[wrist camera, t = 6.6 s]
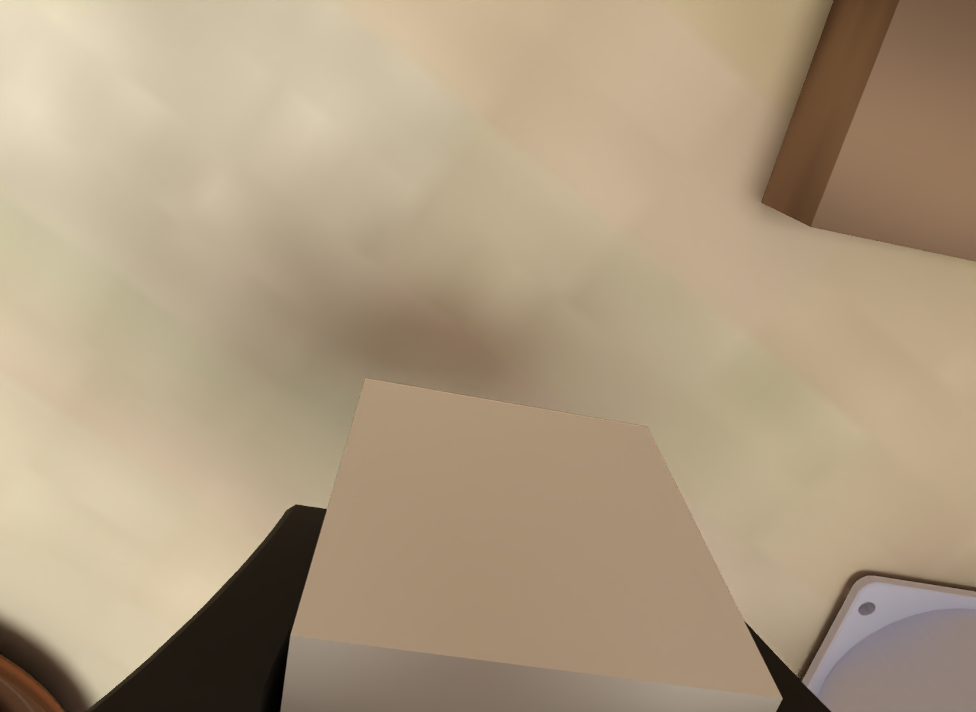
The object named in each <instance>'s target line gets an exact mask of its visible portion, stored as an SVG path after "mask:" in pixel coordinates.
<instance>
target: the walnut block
mask: <svg viewBox="0 0 976 712" xmlns="http://www.w3.org/2000/svg"><path fill="white" fill-rule="evenodd" d="M762 203H764V204H766V205H768V206H770V207H772V208H774V209H776V210H778V211H780V212H782V213H784V214H786V215H788V216H790V217H792V218H794V219H796V220H798V221H800V222H802V223H804V224H806V225H808V226H810V227H814V228H819V229H824V230H829V231H833V232H838V233H843V234H848V235H852V236H857V237H862V238H867V239H872V240H876V241H881V242H886V243H891V244H895V245H900V246H905V247H910V248H914V249H919V250H924V251H929V252H933V253H938V254H943V255H948V256H953V257H957V258H962V259H967V260H972V261H976V0H834V2H833V5H832V7H831V10H830V13H829V16H828V18H827V21H826V24H825V27H824V30H823V32H822V35H821V38H820V41H819V43H818V46H817V49H816V52H815V55H814V57H813V60H812V63H811V66H810V68H809V71H808V74H807V77H806V80H805V82H804V85H803V88H802V91H801V93H800V96H799V99H798V102H797V105H796V107H795V110H794V113H793V116H792V118H791V121H790V124H789V127H788V130H787V132H786V135H785V138H784V141H783V143H782V146H781V149H780V152H779V155H778V157H777V160H776V163H775V166H774V168H773V171H772V174H771V177H770V180H769V182H768V185H767V188H766V191H765V193H764V196H763V199H762Z"/></svg>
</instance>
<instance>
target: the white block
mask: <svg viewBox="0 0 976 712" xmlns="http://www.w3.org/2000/svg"><path fill="white" fill-rule="evenodd" d="M782 699H783V698H782V696H781V694H780V692H779V690H778V688H777V686H776V684H775V682H774V680H773V678H772V676H771V674H770V672H769V670H768V668H767V666H766V664H765V662H764V660H763V658H762V656H761V654H760V652H759V650H758V648H757V646H756V644H755V642H754V640H753V638H752V636H751V634H750V632H749V630H748V628H747V626H746V624H745V622H744V620H743V618H742V616H741V614H740V612H739V610H738V608H737V606H736V604H735V602H734V600H733V598H732V596H731V594H730V592H729V590H728V588H727V586H726V584H725V582H724V580H723V578H722V576H721V574H720V572H719V570H718V568H717V566H716V564H715V562H714V560H713V558H712V556H711V554H710V552H709V550H708V548H707V546H706V544H705V542H704V540H703V538H702V536H701V534H700V532H699V530H698V528H697V526H696V523H695V521H694V519H693V517H692V515H691V513H690V511H689V509H688V507H687V505H686V503H685V501H684V499H683V497H682V495H681V493H680V491H679V489H678V487H677V485H676V483H675V481H674V479H673V477H672V475H671V473H670V471H669V469H668V467H667V465H666V463H665V461H664V459H663V457H662V455H661V453H660V451H659V449H658V447H657V445H656V443H655V441H654V439H653V437H652V435H651V433H650V431H649V429H648V427H647V426H641V425H635V424H629V423H624V422H618V421H612V420H606V419H600V418H595V417H589V416H583V415H577V414H571V413H566V412H560V411H554V410H548V409H542V408H537V407H531V406H525V405H519V404H513V403H508V402H502V401H496V400H490V399H484V398H478V397H473V396H467V395H461V394H455V393H449V392H444V391H438V390H432V389H426V388H420V387H415V386H409V385H403V384H397V383H391V382H386V381H380V380H374V379H368V378H365V381H364V384H363V387H362V391H361V394H360V398H359V401H358V405H357V408H356V412H355V415H354V418H353V422H352V425H351V429H350V432H349V436H348V439H347V442H346V446H345V449H344V453H343V456H342V460H341V463H340V467H339V470H338V473H337V477H336V480H335V484H334V487H333V491H332V494H331V497H330V501H329V504H328V508H327V511H326V515H325V518H324V522H323V525H322V528H321V532H320V535H319V539H318V542H317V546H316V549H315V552H314V556H313V559H312V563H311V566H310V570H309V573H308V577H307V580H306V583H305V587H304V590H303V594H302V597H301V601H300V604H299V607H298V611H297V614H296V618H295V621H294V625H293V628H292V632H291V635H290V642H289V649H288V657H287V665H286V672H285V680H284V687H283V695H282V703H281V710H280V712H776V711H777V709H778V707H779V705H780V703H781V701H782Z"/></svg>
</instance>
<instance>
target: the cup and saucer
mask: <svg viewBox="0 0 976 712" xmlns="http://www.w3.org/2000/svg"><path fill="white" fill-rule="evenodd" d="M0 712H65V711H64V710H63V708H62V707H61V706H60V705H59V703H58V702H57V701H56V699H55V698H54V697H53V696H52V695H51V694H50V693H49V692H48V691H47V690H46V689H45V688H44V687H43V686H42V685H41V684H40V683H39V682H38V681H37V680H36V679H34V678H33V677H32V676H31V675H30V674H28V673H27V672H26V671H24V670H23V669H22V668H21V667H19V666H18V665H16V664H15V663H13V662H12V661H10V660H9V659H7V658H6V657H4V656H2V655H1V654H0Z"/></svg>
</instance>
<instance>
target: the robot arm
mask: <svg viewBox="0 0 976 712" xmlns="http://www.w3.org/2000/svg"><path fill="white" fill-rule="evenodd" d="M326 511H327V509H323V508H316V507H309V506H303V505H294V506H293V507H291V508H289V509H288V510H286V512H285V513H284V515H283V516H282V518H281V519H280V520H279V522H278V523H277V524H276V526H275V527H274V528H273V530H272V531H271V532H270V533H269V535H268V536H267V537H266V538H265V540H264V541H263V542H262V543H261V544H260V546H259V547H258V548H257V549H256V550H255V551H254V553H253V554H252V555H251V556H250V557H249V558H248V559H247V561H246V562H245V563H244V564H243V565H242V566H241V567H240V569H239V570H238V571H237V572H236V573H235V574H234V575H233V576H232V577H231V578H230V579H229V580H228V581H227V582H226V583H225V584H224V585H223V586H222V588H221V589H220V590H219V591H218V592H217V593H216V594H215V595H214V596H213V597H212V598H211V599H210V600H209V601H208V602H207V603H206V604H205V605H204V606H203V607H202V608H201V609H200V610H199V611H198V612H197V613H196V614H195V615H194V616H193V617H192V618H191V619H190V620H189V621H188V622H187V623H186V624H185V625H184V626H183V627H182V628H180V629H179V630H178V631H177V632H176V633H175V634H174V635H173V636H172V637H171V638H170V639H169V640H168V641H167V642H166V643H164V644H163V645H162V646H161V647H160V648H159V649H158V650H157V651H156V652H155V653H154V654H153V655H152V656H151V657H150V658H148V659H147V660H146V661H145V662H144V663H143V664H142V665H141V666H139V667H138V668H137V669H136V670H135V671H134V672H133V673H131V674H130V675H129V676H128V677H127V678H126V679H124V680H123V681H122V682H121V683H120V684H119V685H117V686H116V687H115V688H114V689H113V690H111V691H110V692H109V693H108V694H107V695H106V696H104V697H103V698H102V699H101V700H99V701H98V702H97V703H96V704H94V705H93V706H92V707H91V708H89V709H88V710H87V711H86V712H280V710H281V703H282V695H283V687H284V680H285V672H286V665H287V657H288V649H289V642H290V635H291V632H292V628H293V625H294V621H295V618H296V614H297V611H298V607H299V604H300V601H301V597H302V594H303V590H304V587H305V583H306V580H307V577H308V573H309V570H310V566H311V563H312V559H313V556H314V552H315V549H316V546H317V542H318V539H319V535H320V532H321V528H322V525H323V522H324V518H325V515H326ZM864 603H865V604H864ZM862 604H864V605H862ZM861 605H862V606H861ZM744 622H745V621H744ZM745 624H746V626H747V628H748V630H749V632H750V634H751V636H752V638H753V640H754V642H755V644H756V646H757V648H758V650H759V652H760V654H761V656H762V658H763V660H764V662H765V664H766V666H767V668H768V670H769V672H770V674H771V676H772V678H773V680H774V682H775V684H776V686H777V688H778V690H779V692H780V694H781V696H782V698H783V699H782V701H781V703H780V705H779V707H778V709H777V711H776V712H976V591H969V590H963V589H957V588H950V587H944V586H938V585H931V584H925V583H918V582H912V581H906V580H899V579H893V578H887V577H880V576H865V577H862V578H860V579H859V580H857V581H856V582H855V584H854V585H853V586H852V588H851V590H850V592H849V594H848V596H847V598H846V600H845V601H844V603H843V605H842V607H841V609H840V611H839V613H838V615H837V616H836V618H835V620H834V622H833V624H832V626H831V628H830V630H829V631H828V633H827V635H826V637H825V639H824V641H823V643H822V645H821V646H820V648H819V650H818V652H817V654H816V656H815V658H814V660H813V661H812V663H811V665H810V667H809V669H808V671H807V673H806V675H805V676H804V678H803V680H802V682H801V681H800V679H799V678H798V677H797V676H796V675H795V674H794V673H793V672H792V671H791V670H790V669H789V668H788V667H787V666H786V665H785V664H784V663H783V662H782V661H781V660H780V659H779V658H778V656H777V655H776V654H775V653H774V652H773V651H772V650H771V649H770V648H769V647H768V646H767V645H766V644H765V643H764V642H763V640H762V639H761V638H760V637H759V636H758V635H757V634H756V633H755V632H754V631H753V630H752V629H751V628H750V626H749V625H748V624H747V623H746V622H745Z"/></svg>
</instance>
